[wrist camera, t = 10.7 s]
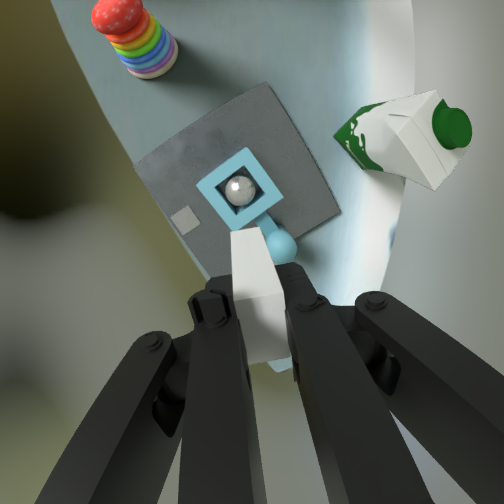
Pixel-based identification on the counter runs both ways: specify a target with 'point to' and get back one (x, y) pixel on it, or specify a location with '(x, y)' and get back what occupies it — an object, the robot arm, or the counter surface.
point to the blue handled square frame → (250, 204)
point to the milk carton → (408, 138)
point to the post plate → (218, 148)
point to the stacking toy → (136, 37)
